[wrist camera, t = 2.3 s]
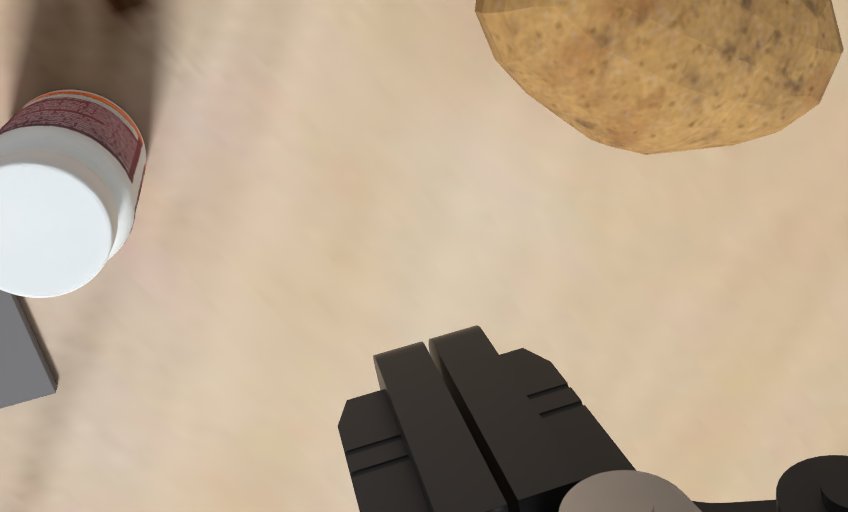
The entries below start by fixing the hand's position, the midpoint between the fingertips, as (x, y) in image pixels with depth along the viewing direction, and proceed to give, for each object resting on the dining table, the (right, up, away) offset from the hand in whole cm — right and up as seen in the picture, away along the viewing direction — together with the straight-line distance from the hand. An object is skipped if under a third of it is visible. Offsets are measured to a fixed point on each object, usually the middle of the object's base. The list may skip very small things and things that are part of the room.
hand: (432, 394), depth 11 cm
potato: (+7, +12, +21) cm, 25 cm away
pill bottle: (-13, +6, +18) cm, 23 cm away
